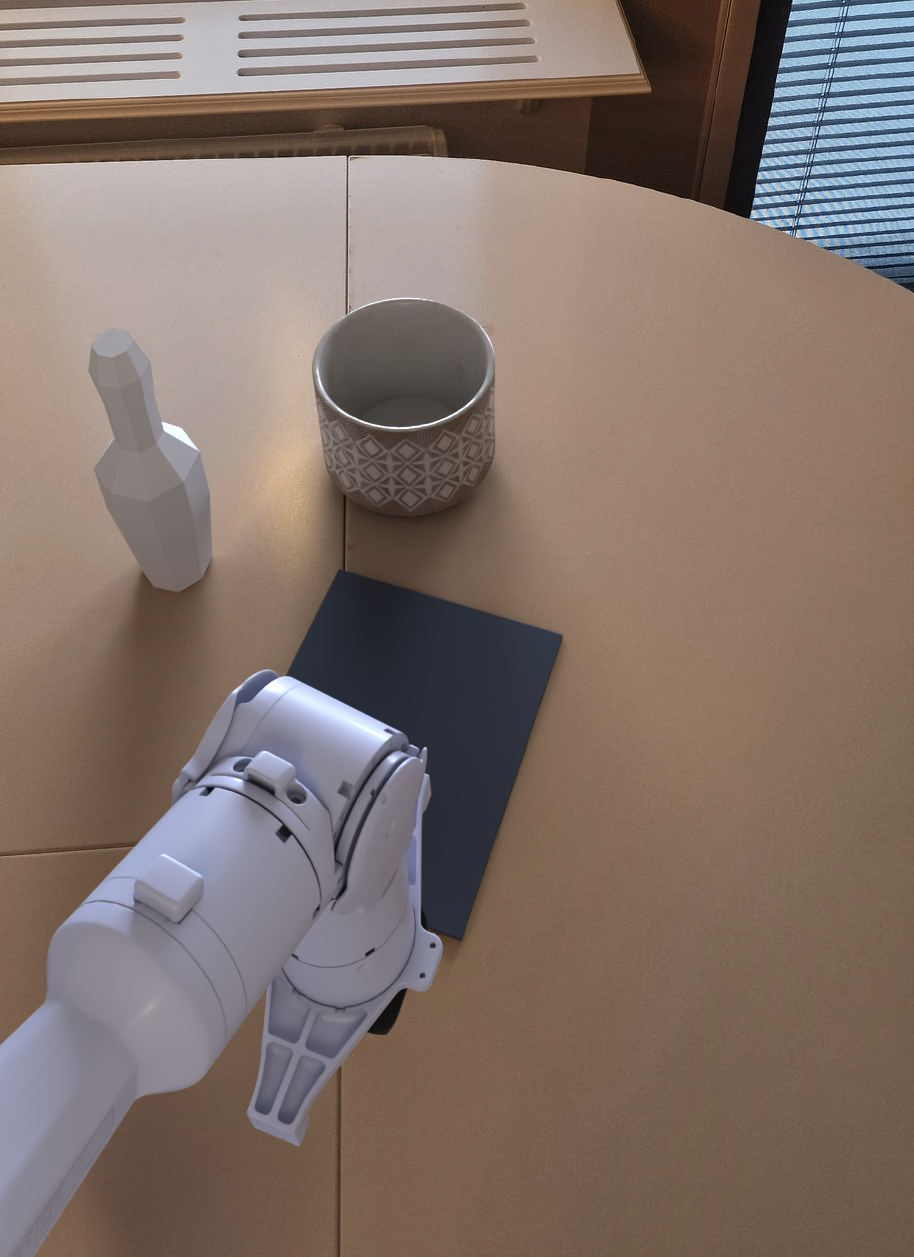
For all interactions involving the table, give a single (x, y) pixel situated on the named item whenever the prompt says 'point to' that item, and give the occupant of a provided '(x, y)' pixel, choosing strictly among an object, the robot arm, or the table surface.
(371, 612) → the mat
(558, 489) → the table surface
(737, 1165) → the table surface
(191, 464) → the faceted bottle
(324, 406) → the planter
